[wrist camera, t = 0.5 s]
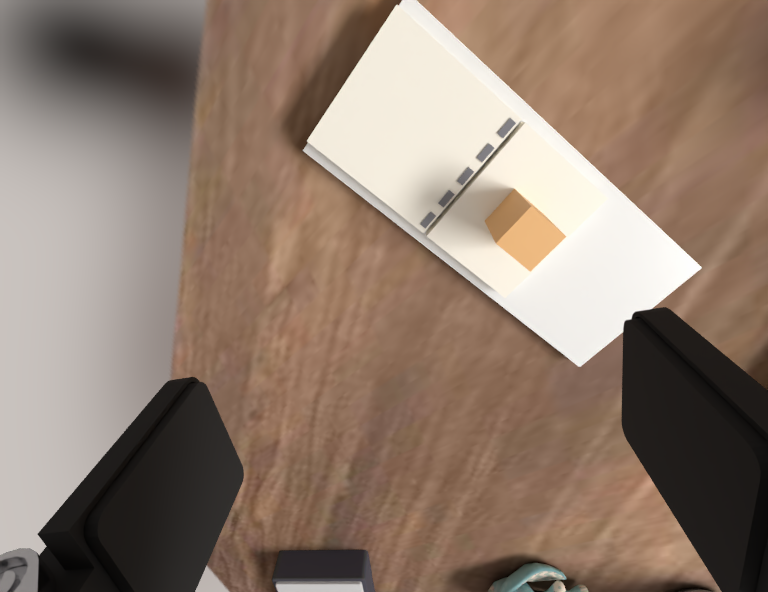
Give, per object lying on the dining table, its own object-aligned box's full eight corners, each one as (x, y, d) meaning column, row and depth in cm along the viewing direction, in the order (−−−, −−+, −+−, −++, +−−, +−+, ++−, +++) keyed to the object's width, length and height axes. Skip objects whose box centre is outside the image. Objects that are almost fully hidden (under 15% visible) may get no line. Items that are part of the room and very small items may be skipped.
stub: (521, 121, 30) (545, 129, 24) (601, 194, 32) (641, 218, 26) (426, 231, 34) (428, 260, 28) (502, 291, 35) (518, 330, 30)
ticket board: (408, -5, 28) (407, -13, 26) (692, 261, 35) (712, 274, 32) (306, 148, 33) (298, 153, 31) (575, 359, 39) (584, 376, 37)
